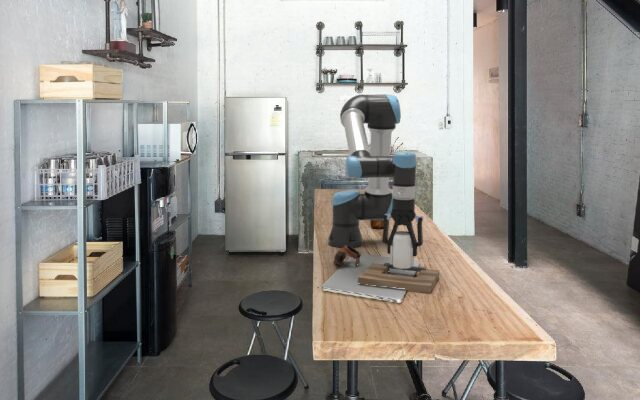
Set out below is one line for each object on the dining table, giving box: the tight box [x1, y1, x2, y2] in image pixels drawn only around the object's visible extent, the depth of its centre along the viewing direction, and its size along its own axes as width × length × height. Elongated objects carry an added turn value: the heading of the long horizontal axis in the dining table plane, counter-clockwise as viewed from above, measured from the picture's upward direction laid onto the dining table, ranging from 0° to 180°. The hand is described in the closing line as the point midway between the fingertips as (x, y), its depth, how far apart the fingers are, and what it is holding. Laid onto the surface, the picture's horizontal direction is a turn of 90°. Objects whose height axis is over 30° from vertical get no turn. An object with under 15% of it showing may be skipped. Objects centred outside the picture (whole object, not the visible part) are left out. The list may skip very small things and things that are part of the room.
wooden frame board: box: [357, 263, 440, 294], centre depth 180 cm, size 18×24×2 cm
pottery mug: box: [332, 245, 362, 267], centre depth 199 cm, size 12×10×8 cm
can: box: [392, 230, 413, 270], centre depth 181 cm, size 6×6×12 cm
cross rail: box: [383, 262, 427, 273], centre depth 188 cm, size 2×15×3 cm, turn 68°
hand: (401, 264), depth 182 cm, fingers closed on can, 6 cm apart
